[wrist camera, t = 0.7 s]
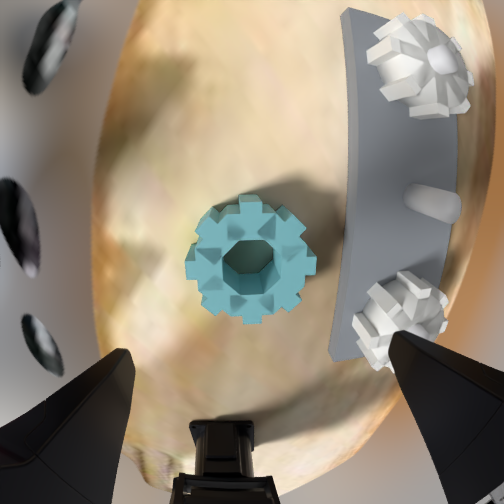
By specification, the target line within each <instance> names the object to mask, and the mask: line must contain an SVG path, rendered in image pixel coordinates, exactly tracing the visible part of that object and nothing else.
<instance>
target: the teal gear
mask: <svg viewBox="0 0 504 504" xmlns="http://www.w3.org/2000/svg"><path fill="white" fill-rule="evenodd" d="M306 229H307V228H306V227H305V226H304V225H303V224H302V223H301V222H300V221H299V220H298V219H297V218H296V217H295V216H294V215H293V214H292V213H291V212H290V211H289V210H288V209H287V208H285V207H284V206H283V205H282V206H281V207H280V208H279V209H278V210H277V211H275V210H274V209H273V208H272V207H271V206H270V205H269V204H262V201H261V200H260V198H259V197H258V196H257V194H249V195H239V204H234V205H227V206H226V207H225V208H224V209H223V210H222V211H221V212H220V213H219V212H218V211H217V210H216V209H215V208H214V207H213V206H212V207H211V208H210V210H209V211H208V212H207V213H206V214H205V215H204V216H203V217H202V218H201V219H200V221H199V224H198V226H197V228H196V230H195V232H196V233H197V234H198V235H199V238H198V241H197V243H196V244H192V245H191V247H190V250H189V252H188V254H187V257H186V259H185V269H186V278H187V280H197V281H198V291H199V292H201V293H202V294H203V296H202V302H201V305H202V306H203V307H204V308H206V309H207V310H208V311H210V312H211V313H212V314H214V315H215V316H216V315H217V314H218V313H219V312H220V311H221V310H223V311H225V312H226V313H227V314H229V315H230V316H242V317H243V324H260V323H262V315H271V314H274V313H275V312H277V311H278V310H279V309H280V308H281V307H283V308H284V309H285V310H286V311H287V312H290V311H291V310H292V309H293V308H294V307H295V306H296V305H297V304H299V303H300V302H301V301H302V299H301V297H300V295H299V293H298V292H299V291H300V290H301V289H302V288H303V287H304V284H305V275H315V272H316V260H317V256H316V255H315V254H314V253H313V252H312V250H311V249H310V248H309V247H308V246H307V244H306V243H305V242H304V241H303V239H302V238H301V237H300V235H301V234H302V233H303V232H304V231H305V230H306ZM239 240H265V241H266V242H267V243H268V244H269V245H270V246H271V247H273V260H272V261H270V262H269V263H268V264H267V265H266V266H265V267H264V268H263V269H262V270H261V271H260V272H259V273H246V274H238V273H237V272H236V271H235V270H234V269H232V268H231V267H230V266H229V265H228V264H227V263H225V262H224V257H223V256H224V255H225V254H226V253H227V252H228V251H229V250H230V249H231V248H232V247H233V246H234V245H235V244H236V243H237V242H238V241H239Z"/></svg>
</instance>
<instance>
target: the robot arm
mask: <svg viewBox="0 0 504 504" xmlns="http://www.w3.org/2000/svg"><path fill="white" fill-rule="evenodd" d="M388 356H389V359H390V361H391V364H392V367H393V369H394V372H395V375H396V377H397V380H398V383H399V386H400V388H401V390H402V393H403V395H404V397H405V399H406V401H407V403H408V405H409V407H410V409H411V412H412V414H413V416H414V418H415V420H416V423H417V425H418V427H419V429H420V432H421V434H422V436H423V438H424V441H425V443H426V446H427V448H428V450H429V452H430V455H431V457H432V460H433V463H434V465H435V468H436V470H437V473H438V475H439V479H440V481H441V484H442V487H443V489H444V492H445V495H446V498H447V501H448V504H475V503H477V502H478V501H479V500H481V499H483V498H484V497H485V496H487V495H488V494H489V495H490V497H491V499H490V500H489V501H488V502H487V503H485V504H504V372H502V371H499V370H497V369H494V368H492V367H489V366H487V365H485V364H482V363H479V362H478V361H475V360H473V359H471V358H468V357H466V356H464V355H461V354H459V353H456V352H454V351H452V350H450V349H447V348H445V347H443V346H440V345H438V344H436V343H434V342H431V341H429V340H427V339H424V338H422V337H420V336H418V335H415V334H413V333H411V332H408V331H406V330H400V331H396V332H394V333H393V335H392V339H391V342H390V345H389V348H388ZM135 372H136V371H135V366H134V363H133V360H132V357H131V354H130V351H129V350H128V349H123V348H116V349H115V350H113V351H112V352H111V353H109V354H108V355H106V356H105V357H104V358H102V359H101V360H99V361H98V362H97V363H95V364H94V365H93V366H91V367H90V368H88V369H87V370H86V371H84V372H83V373H81V374H80V375H79V376H77V377H76V378H74V379H73V380H72V381H70V382H69V383H67V384H66V385H65V386H63V387H62V388H60V389H59V390H58V391H56V392H55V393H54V394H52V395H51V396H49V397H48V398H46V401H45V400H44V401H42V402H41V403H39V404H38V405H37V406H35V407H34V408H32V409H31V410H29V411H28V412H26V413H25V414H23V415H21V416H20V417H18V418H16V419H15V420H13V421H11V422H9V423H8V424H6V425H4V426H2V427H1V428H0V504H111V503H112V497H113V490H114V484H115V479H116V474H117V468H118V463H119V458H120V454H121V449H122V444H123V440H124V435H125V431H126V427H127V423H128V419H129V414H130V409H131V402H132V394H133V387H134V380H135ZM189 428H190V431H191V434H192V437H193V440H194V443H195V446H196V460H195V475H190V474H185V473H180V472H179V477H176V478H174V479H173V489H172V495H171V499H170V503H169V504H280V501H279V497H278V494H277V491H276V488H275V484H274V481H273V477H272V476H266V477H254V472H253V462H252V453H251V452H253V451H254V423H253V422H252V421H239V422H190V423H189ZM187 493H191V495H190V494H187Z"/></svg>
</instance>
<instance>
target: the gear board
mask: <svg viewBox="0 0 504 504" xmlns="http://www.w3.org/2000/svg"><path fill="white" fill-rule="evenodd" d="M340 17H341V25H342V33H343V42H344V52H345V63H346V77H347V95H348V183H347V203H346V218H345V231H344V242H343V252H342V261H341V270H340V278H339V286H338V293H337V300H336V307H335V313H334V320H333V326H332V331H331V337H330V343H329V348H328V352H329V354H330V356H331V358H332V360H333V362H337V361H343V360H349V359H355V358H361V357H366V359H367V360H368V362H369V364H370V365H371V367H372V368H374V369H375V370H376V371H379V370H380V369H381V368H382V367H383V366H385V367H389V368H390V369H391V371H392V372H393V374H394V373H395V372H394V369H393V367H392V364H391V361H390V359H389V356H388V348H389V345H390V342H391V339H392V335H393V333H394V332H396V331H400V330H406V331H408V332H411V333H413V334H415V335H418V336H420V337H422V338H424V339H427V340H429V341H431V342H434V341H435V339H436V338H437V336H438V334H439V333H442V332H444V331H445V329H446V326H447V323H448V320H447V319H446V318H445V317H444V311H443V309H444V307H445V306H446V305H447V304H448V303H449V301H448V299H447V297H446V295H445V294H444V293H442V292H441V291H440V290H438V288H439V285H440V281H441V277H442V272H443V268H444V264H445V259H446V254H447V249H448V244H449V238H450V232H451V226H452V224H453V223H455V222H456V221H457V220H458V218H459V216H460V214H461V208H462V205H461V200H460V197H459V196H458V195H457V194H456V193H455V192H456V178H457V150H458V141H457V114H460V113H466V112H467V110H468V109H469V108H470V106H471V105H470V103H469V102H468V100H467V98H466V97H467V94H468V89H469V87H470V86H474V80H473V74H472V73H471V72H470V71H468V70H467V69H466V66H465V63H464V60H463V58H462V56H461V54H460V52H459V51H460V50H461V49H462V48H461V46H460V45H459V43H458V42H457V41H456V39H455V38H454V37H451V38H449V37H448V36H447V35H446V34H445V33H444V32H443V31H441V30H440V29H439V28H437V27H436V25H435V21H434V19H433V18H431V17H429V16H427V15H425V14H421V15H419V16H417V17H416V18H414V19H412V20H410V19H409V18H408V17H407V16H406V15H405V14H404V12H403V13H401V14H400V15H398V16H397V17H395V18H393V19H392V20H389V19H386V18H383V17H380V16H377V15H374V14H371V13H367V12H364V11H360V10H357V9H353V8H349V7H348V8H347V9H346V10H345V11H344V12H343V13H342V15H341V16H340Z"/></svg>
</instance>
